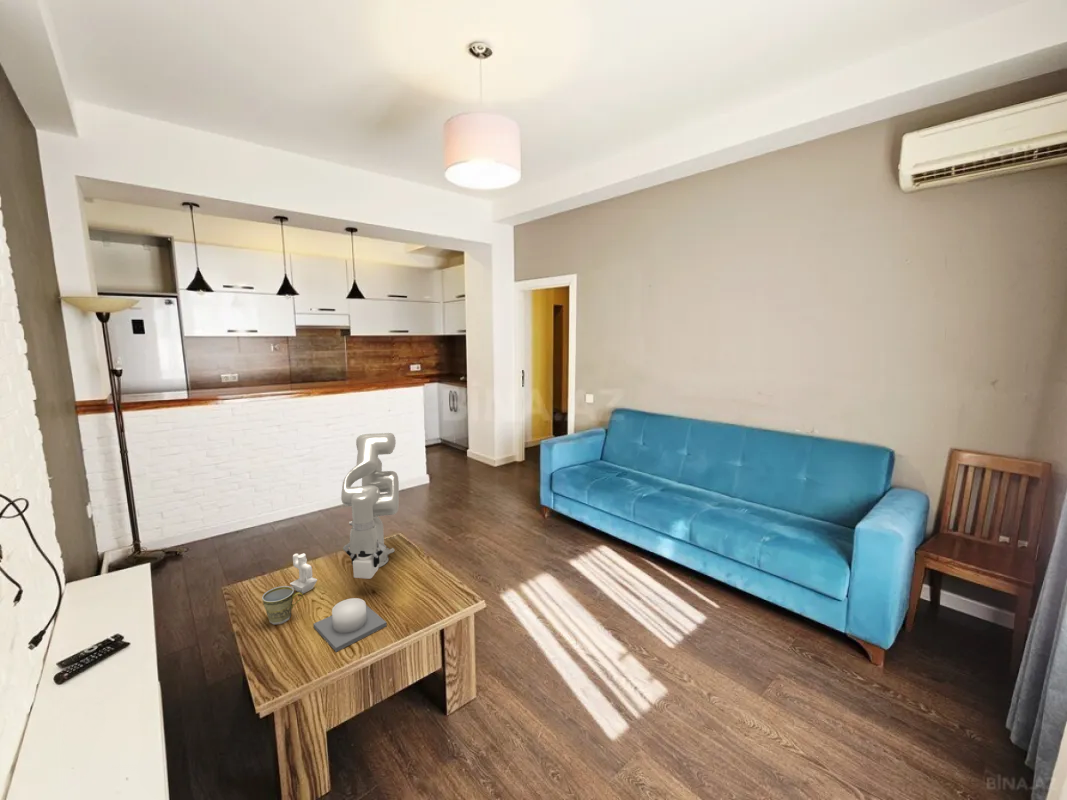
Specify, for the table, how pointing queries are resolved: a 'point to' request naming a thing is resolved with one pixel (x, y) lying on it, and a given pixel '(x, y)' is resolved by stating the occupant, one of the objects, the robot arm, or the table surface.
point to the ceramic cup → (279, 603)
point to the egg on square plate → (349, 623)
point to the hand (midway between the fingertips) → (365, 565)
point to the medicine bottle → (364, 566)
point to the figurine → (303, 574)
